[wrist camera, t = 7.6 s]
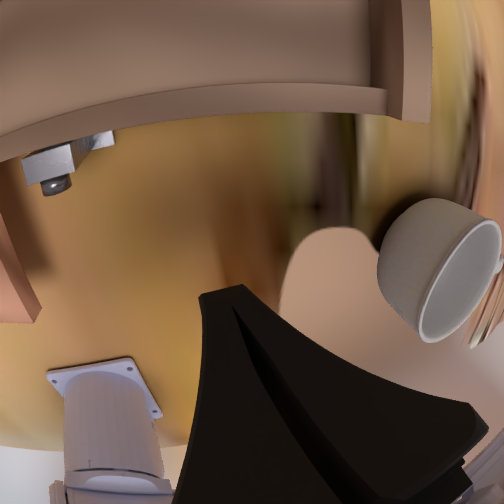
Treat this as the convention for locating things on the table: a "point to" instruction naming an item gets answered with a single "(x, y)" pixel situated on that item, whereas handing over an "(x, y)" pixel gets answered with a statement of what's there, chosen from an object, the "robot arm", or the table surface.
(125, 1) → the lever
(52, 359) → the table surface
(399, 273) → the teacup
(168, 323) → the table surface
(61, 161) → the lever stand
